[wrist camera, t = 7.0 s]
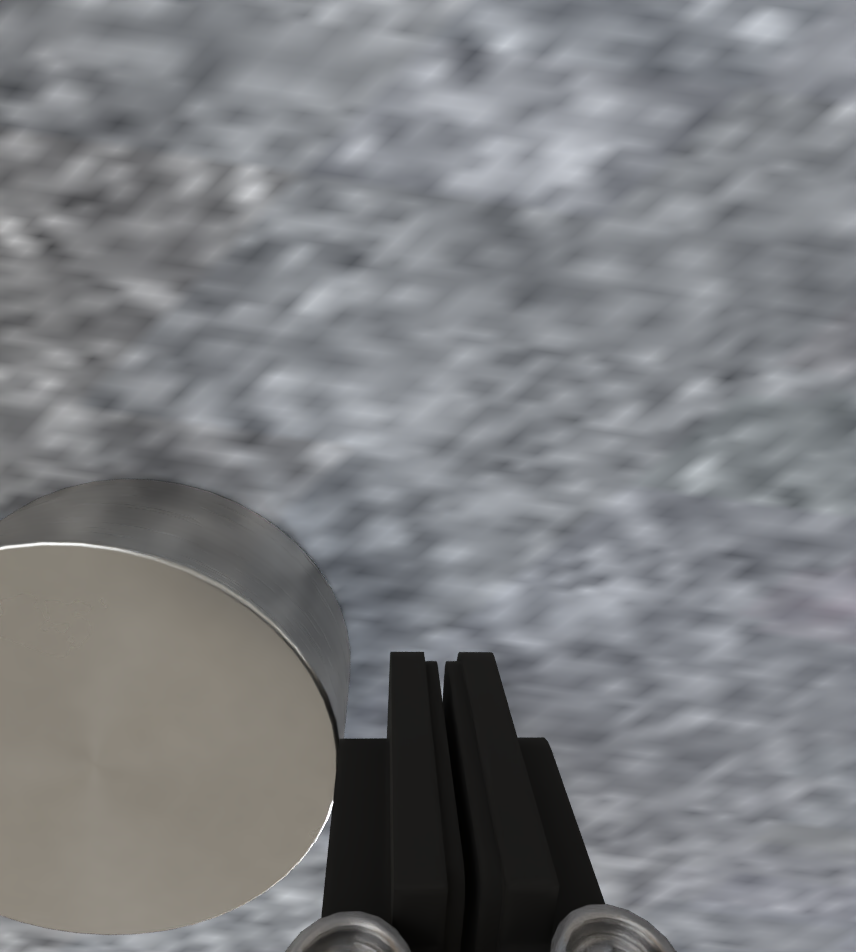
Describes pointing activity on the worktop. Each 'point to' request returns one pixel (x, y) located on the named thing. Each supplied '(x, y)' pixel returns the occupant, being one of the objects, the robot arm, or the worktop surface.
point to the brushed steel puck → (159, 707)
